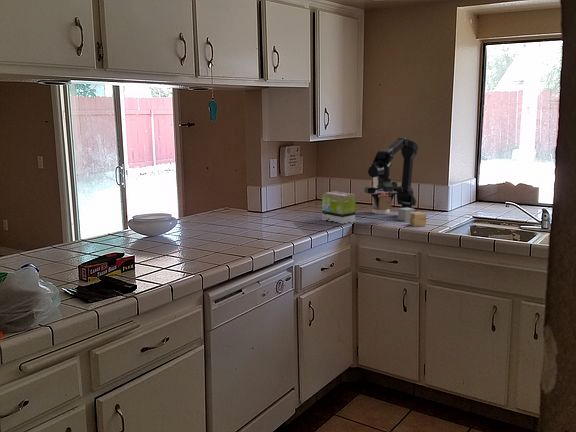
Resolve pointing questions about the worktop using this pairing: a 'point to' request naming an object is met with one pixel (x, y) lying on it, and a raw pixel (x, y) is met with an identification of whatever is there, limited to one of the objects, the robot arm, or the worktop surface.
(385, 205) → the walnut block
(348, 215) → the tea box
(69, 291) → the worktop surface
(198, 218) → the worktop surface
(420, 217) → the oak block
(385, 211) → the fruit juice
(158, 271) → the worktop surface
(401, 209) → the grey block
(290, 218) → the worktop surface
